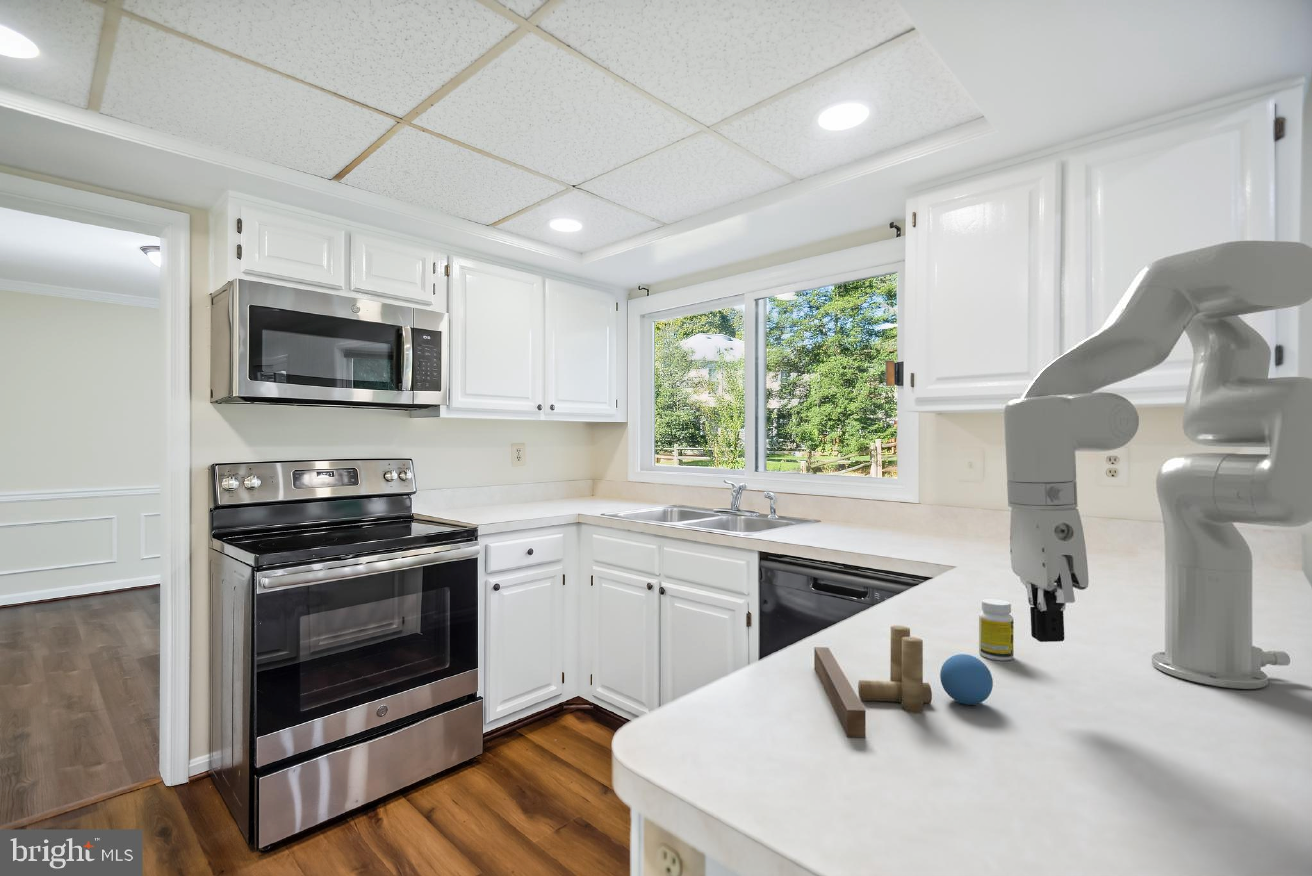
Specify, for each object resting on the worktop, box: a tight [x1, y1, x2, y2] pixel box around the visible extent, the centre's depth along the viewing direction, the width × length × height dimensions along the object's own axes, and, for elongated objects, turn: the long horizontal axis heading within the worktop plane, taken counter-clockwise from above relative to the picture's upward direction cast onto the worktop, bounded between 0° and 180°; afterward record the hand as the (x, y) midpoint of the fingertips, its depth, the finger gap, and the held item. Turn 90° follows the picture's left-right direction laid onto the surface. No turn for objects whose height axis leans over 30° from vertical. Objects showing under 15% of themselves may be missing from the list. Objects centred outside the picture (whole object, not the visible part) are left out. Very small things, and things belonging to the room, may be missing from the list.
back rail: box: [813, 646, 867, 739], centre depth 82 cm, size 2×22×3 cm, turn 175°
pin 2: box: [901, 636, 924, 714], centre depth 79 cm, size 2×2×8 cm
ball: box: [939, 653, 994, 706], centre depth 81 cm, size 6×6×6 cm
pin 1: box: [889, 625, 911, 682], centre depth 84 cm, size 2×2×8 cm
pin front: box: [857, 679, 933, 704], centre depth 81 cm, size 2×2×8 cm
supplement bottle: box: [978, 598, 1015, 662], centre depth 99 cm, size 5×5×8 cm
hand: (1047, 639), depth 81 cm, fingers closed
